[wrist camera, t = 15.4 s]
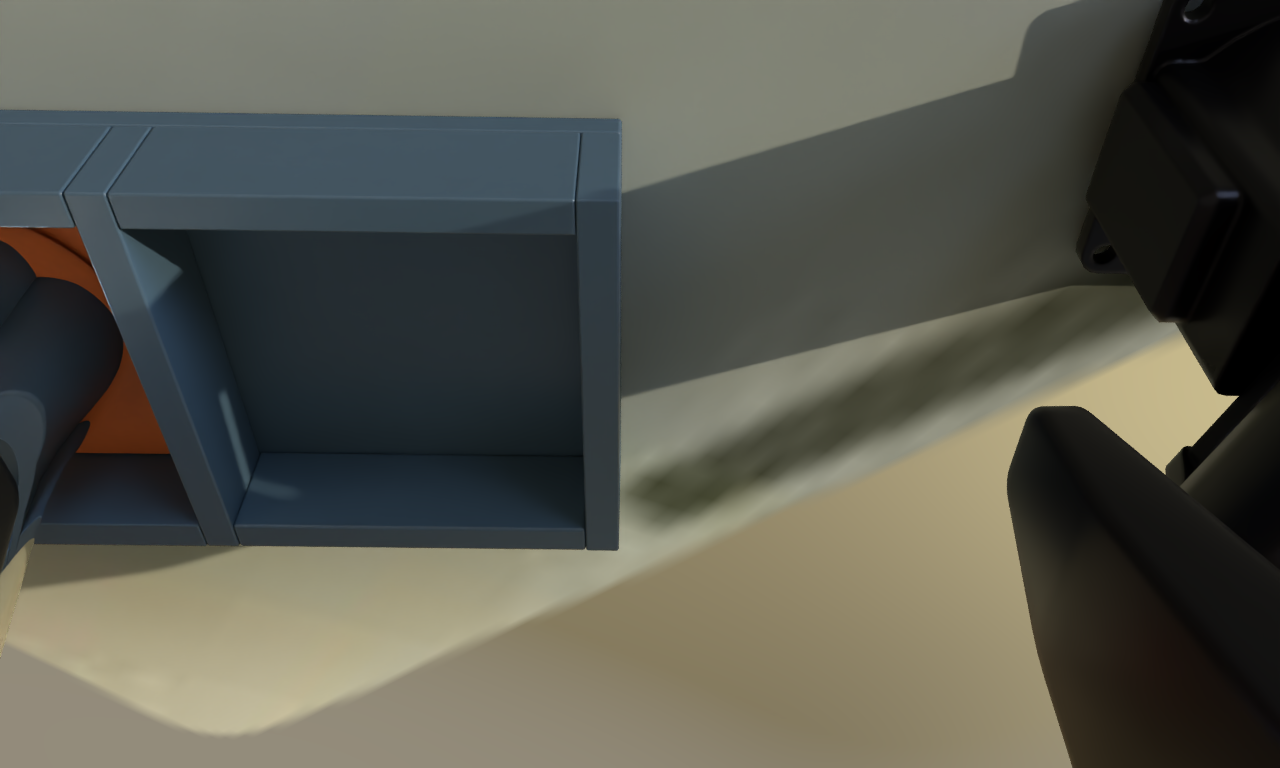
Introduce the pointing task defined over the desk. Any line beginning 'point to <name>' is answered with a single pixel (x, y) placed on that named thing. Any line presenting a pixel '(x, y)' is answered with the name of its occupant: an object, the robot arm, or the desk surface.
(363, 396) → the divided tray
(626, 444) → the desk surface
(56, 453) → the beer glass
